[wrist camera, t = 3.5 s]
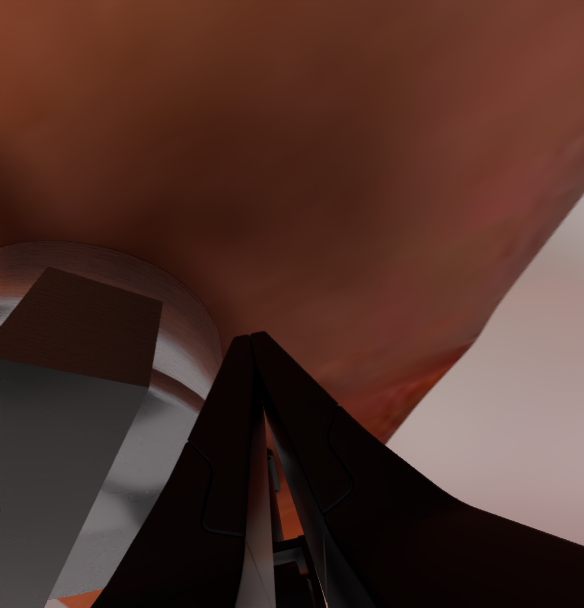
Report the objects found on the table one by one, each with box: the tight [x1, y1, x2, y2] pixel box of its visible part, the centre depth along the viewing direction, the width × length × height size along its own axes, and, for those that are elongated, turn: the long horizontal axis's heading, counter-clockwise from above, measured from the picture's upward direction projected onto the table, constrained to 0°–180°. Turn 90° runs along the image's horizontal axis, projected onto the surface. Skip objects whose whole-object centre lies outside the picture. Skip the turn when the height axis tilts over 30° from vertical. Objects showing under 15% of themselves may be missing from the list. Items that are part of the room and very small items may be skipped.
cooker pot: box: [0, 241, 222, 400], centre depth 15 cm, size 20×15×7 cm
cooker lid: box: [0, 266, 205, 608], centre depth 11 cm, size 19×16×4 cm
